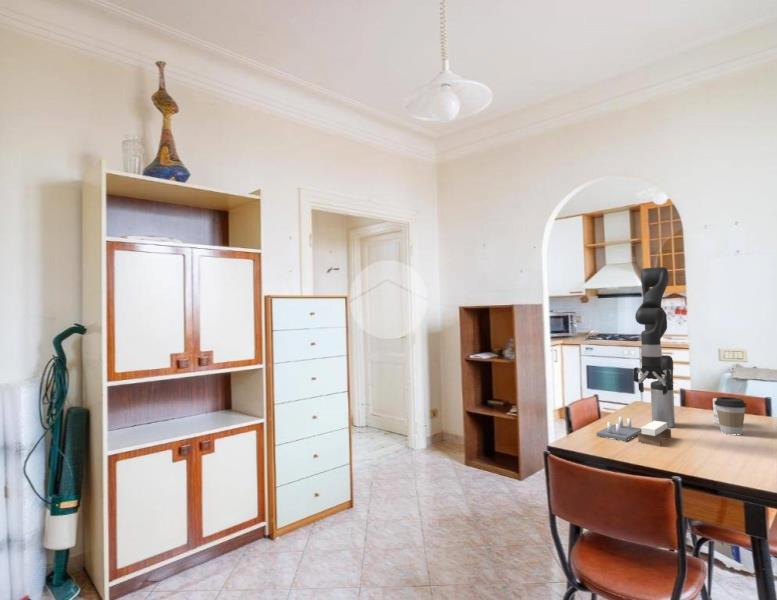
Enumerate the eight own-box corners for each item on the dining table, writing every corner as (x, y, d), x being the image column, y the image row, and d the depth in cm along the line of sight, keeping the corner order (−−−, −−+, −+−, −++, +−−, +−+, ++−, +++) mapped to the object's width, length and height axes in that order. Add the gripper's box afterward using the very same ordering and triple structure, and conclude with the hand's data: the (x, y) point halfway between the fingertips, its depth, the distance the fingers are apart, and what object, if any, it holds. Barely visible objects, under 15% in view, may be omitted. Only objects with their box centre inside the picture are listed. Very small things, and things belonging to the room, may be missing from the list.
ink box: (737, 427, 202) (736, 401, 202) (726, 427, 202) (725, 401, 202) (723, 422, 210) (722, 397, 211) (713, 422, 210) (711, 398, 211)
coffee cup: (736, 429, 197) (734, 396, 198) (754, 436, 186) (753, 401, 187) (709, 429, 199) (708, 396, 199) (726, 436, 187) (724, 401, 188)
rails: (650, 434, 192) (650, 425, 192) (671, 438, 186) (670, 429, 187) (638, 442, 182) (638, 432, 182) (660, 446, 176) (659, 436, 176)
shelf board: (654, 426, 192) (654, 420, 192) (667, 428, 188) (667, 422, 188) (641, 433, 181) (641, 427, 181) (655, 435, 177) (654, 429, 177)
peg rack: (614, 427, 206) (614, 414, 206) (642, 432, 197) (641, 418, 197) (596, 436, 192) (596, 422, 193) (625, 441, 184) (625, 427, 184)
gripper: (673, 355, 183) (675, 394, 182) (636, 353, 193) (637, 390, 193) (667, 356, 178) (669, 396, 177) (630, 354, 188) (631, 392, 188)
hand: (653, 393), depth 185 cm, fingers open, 8 cm apart
